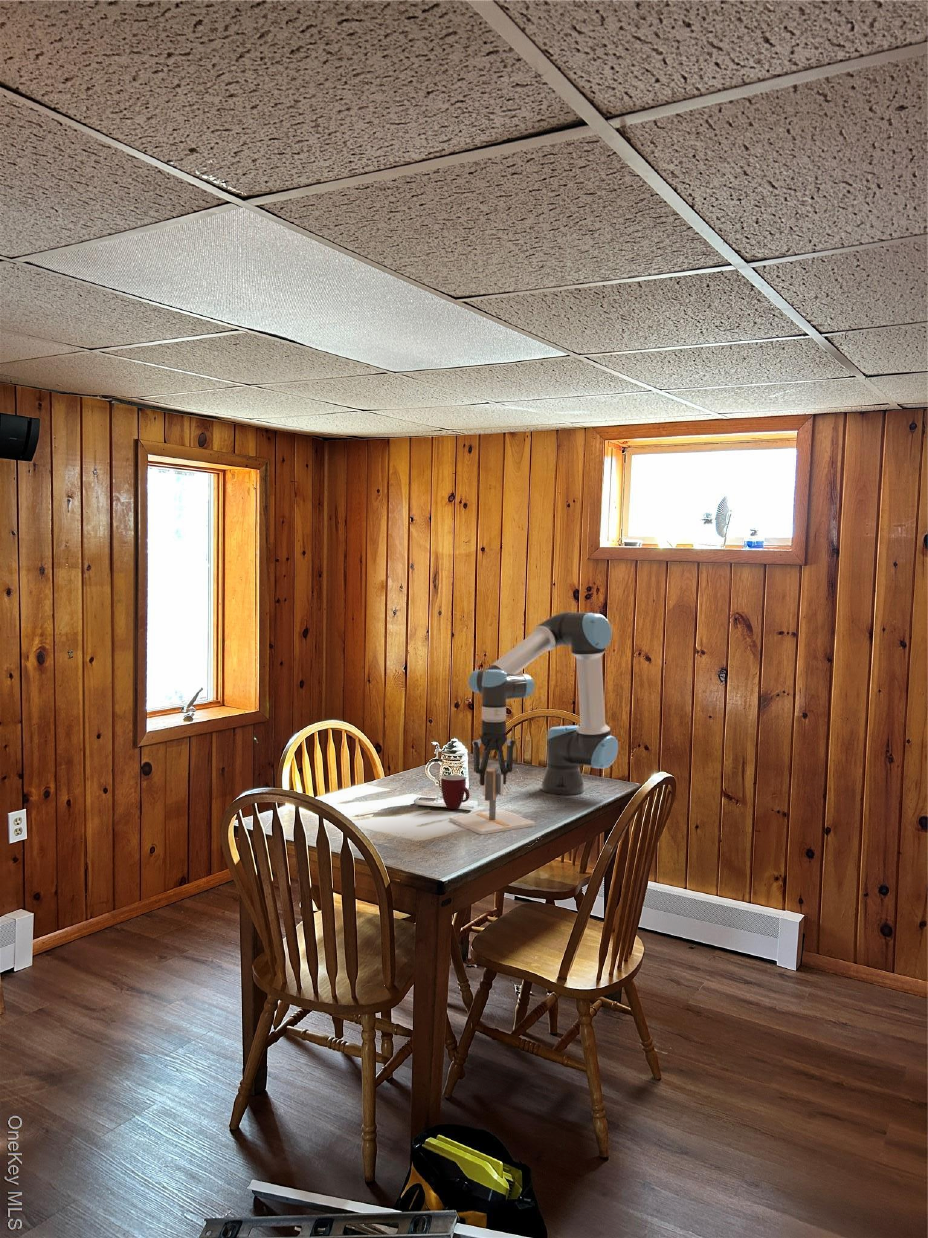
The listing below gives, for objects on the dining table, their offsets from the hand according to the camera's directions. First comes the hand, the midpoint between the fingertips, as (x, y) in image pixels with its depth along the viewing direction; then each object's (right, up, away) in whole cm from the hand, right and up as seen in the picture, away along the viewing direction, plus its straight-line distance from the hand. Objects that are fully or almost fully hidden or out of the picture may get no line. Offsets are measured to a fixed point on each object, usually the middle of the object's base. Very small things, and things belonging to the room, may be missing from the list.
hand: (492, 795), depth 282 cm
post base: (0, -9, 0) cm, 9 cm away
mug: (-11, -8, +18) cm, 23 cm away
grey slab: (0, -1, 0) cm, 1 cm away
